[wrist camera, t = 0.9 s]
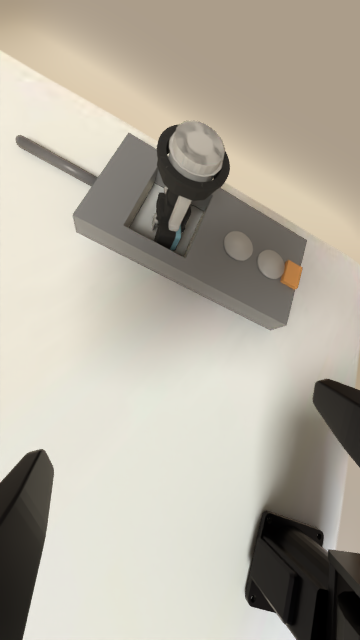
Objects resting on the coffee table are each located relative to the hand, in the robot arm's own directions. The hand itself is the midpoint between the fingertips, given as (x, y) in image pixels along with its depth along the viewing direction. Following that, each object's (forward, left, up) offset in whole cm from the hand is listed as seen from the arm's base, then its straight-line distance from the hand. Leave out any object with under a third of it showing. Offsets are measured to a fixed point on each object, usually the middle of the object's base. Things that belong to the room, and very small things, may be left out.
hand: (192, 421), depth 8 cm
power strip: (+5, -17, -14) cm, 22 cm away
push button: (+4, -17, -14) cm, 22 cm away
